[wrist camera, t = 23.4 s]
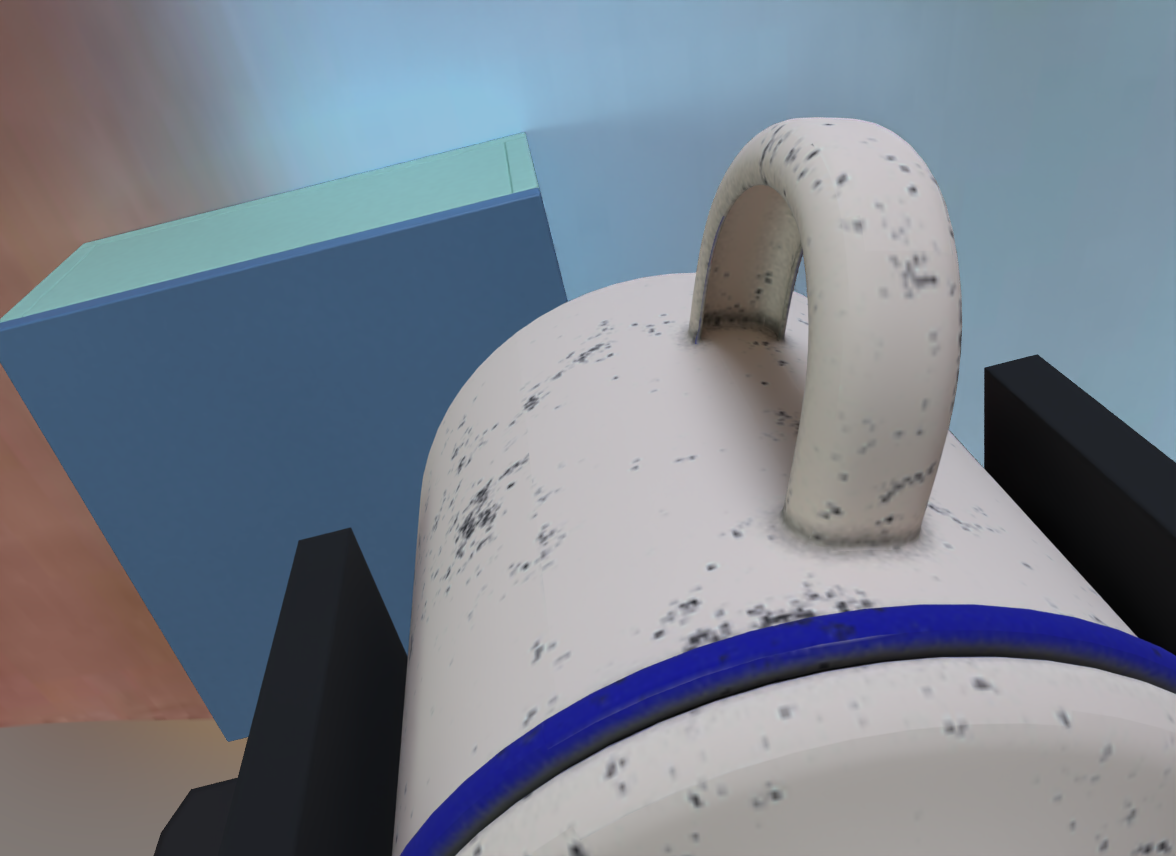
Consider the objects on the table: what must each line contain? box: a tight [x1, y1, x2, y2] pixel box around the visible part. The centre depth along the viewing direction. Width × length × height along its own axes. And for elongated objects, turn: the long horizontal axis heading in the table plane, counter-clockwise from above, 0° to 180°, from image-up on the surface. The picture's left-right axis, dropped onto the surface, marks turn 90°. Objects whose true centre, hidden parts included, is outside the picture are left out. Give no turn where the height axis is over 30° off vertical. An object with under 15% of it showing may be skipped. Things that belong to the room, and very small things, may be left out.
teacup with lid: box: [392, 117, 1176, 856], centre depth 11 cm, size 12×9×12 cm
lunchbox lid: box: [0, 188, 567, 742], centre depth 31 cm, size 17×17×1 cm
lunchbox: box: [0, 132, 539, 323], centre depth 35 cm, size 17×17×7 cm
